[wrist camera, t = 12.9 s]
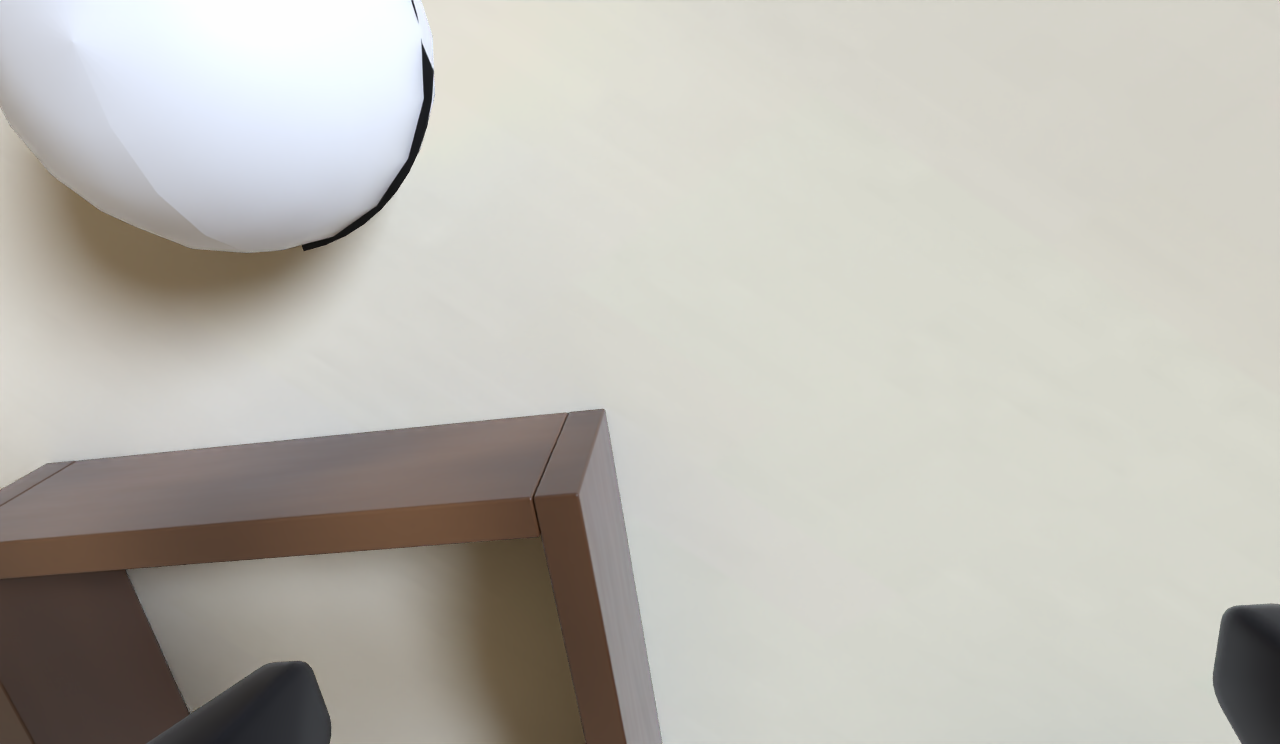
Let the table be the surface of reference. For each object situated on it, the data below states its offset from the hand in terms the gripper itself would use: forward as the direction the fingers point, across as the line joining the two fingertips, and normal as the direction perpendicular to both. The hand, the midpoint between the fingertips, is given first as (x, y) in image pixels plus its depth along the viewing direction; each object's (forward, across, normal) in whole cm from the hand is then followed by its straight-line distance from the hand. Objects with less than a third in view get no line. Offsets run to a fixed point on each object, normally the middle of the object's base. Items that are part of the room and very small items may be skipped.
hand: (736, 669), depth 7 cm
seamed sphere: (+12, +7, -8) cm, 16 cm away
